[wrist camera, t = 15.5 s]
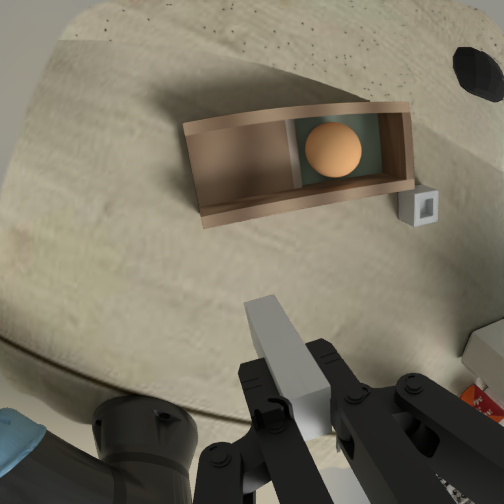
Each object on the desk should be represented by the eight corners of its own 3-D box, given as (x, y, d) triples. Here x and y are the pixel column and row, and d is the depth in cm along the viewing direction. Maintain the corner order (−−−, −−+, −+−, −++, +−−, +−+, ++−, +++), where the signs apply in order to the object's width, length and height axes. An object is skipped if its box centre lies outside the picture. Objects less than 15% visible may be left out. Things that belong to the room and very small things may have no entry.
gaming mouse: (509, 113, 32) (529, 116, 28) (449, 85, 29) (471, 84, 26) (509, 75, 30) (528, 76, 26) (447, 40, 27) (469, 36, 23)
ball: (375, 175, 26) (340, 170, 31) (369, 119, 24) (333, 120, 29) (332, 185, 25) (298, 179, 29) (324, 123, 23) (290, 126, 27)
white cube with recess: (398, 219, 34) (414, 227, 31) (398, 188, 32) (414, 194, 30) (421, 214, 34) (437, 221, 31) (421, 184, 33) (438, 190, 30)
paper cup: (462, 387, 52) (499, 427, 39) (483, 376, 54) (519, 412, 41) (450, 411, 55) (482, 450, 42) (471, 400, 56) (502, 436, 44)
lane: (200, 214, 29) (203, 229, 25) (183, 124, 26) (182, 123, 22) (389, 180, 32) (414, 189, 28) (382, 103, 28) (409, 102, 24)
